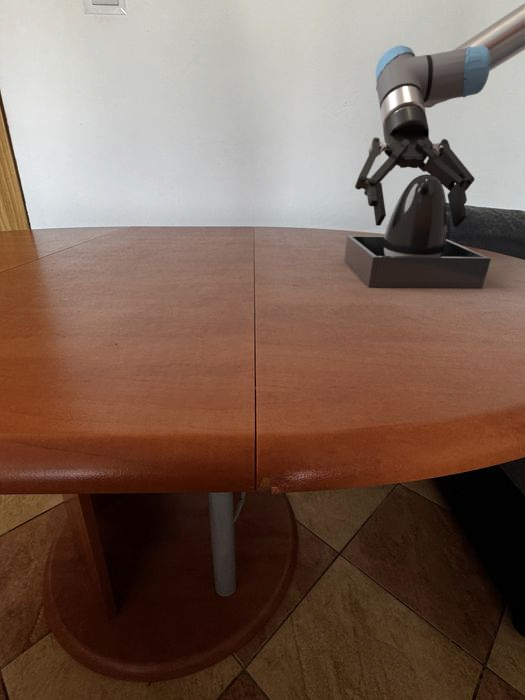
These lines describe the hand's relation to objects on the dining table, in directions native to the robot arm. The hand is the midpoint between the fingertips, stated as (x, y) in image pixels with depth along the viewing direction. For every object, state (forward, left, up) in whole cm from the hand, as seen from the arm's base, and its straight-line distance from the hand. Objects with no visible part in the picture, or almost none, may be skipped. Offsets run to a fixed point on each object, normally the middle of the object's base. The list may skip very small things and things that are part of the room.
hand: (420, 221), depth 63 cm
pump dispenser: (0, -1, -8) cm, 8 cm away
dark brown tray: (+1, 0, -9) cm, 9 cm away
